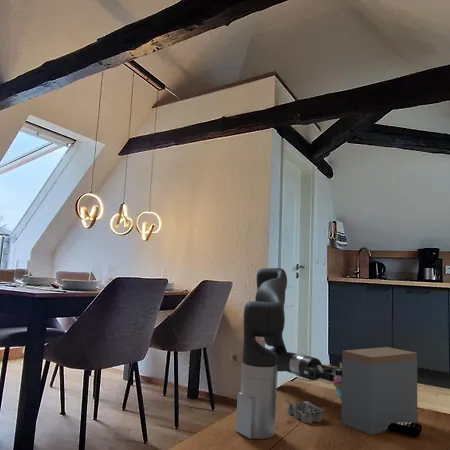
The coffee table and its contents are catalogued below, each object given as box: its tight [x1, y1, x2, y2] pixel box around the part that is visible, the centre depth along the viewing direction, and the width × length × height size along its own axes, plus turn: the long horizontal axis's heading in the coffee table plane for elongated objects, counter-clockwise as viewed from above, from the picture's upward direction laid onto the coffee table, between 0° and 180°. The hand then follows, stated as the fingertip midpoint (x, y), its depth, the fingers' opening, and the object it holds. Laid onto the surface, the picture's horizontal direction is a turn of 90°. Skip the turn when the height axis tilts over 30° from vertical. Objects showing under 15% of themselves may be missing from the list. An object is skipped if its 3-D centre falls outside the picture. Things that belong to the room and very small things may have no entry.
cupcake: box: [332, 361, 342, 399], centre depth 142 cm, size 9×8×12 cm
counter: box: [340, 346, 418, 436], centre depth 118 cm, size 22×10×20 cm, turn 125°
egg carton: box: [285, 399, 325, 424], centre depth 119 cm, size 11×8×4 cm
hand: (342, 377), depth 128 cm, fingers open, 8 cm apart
